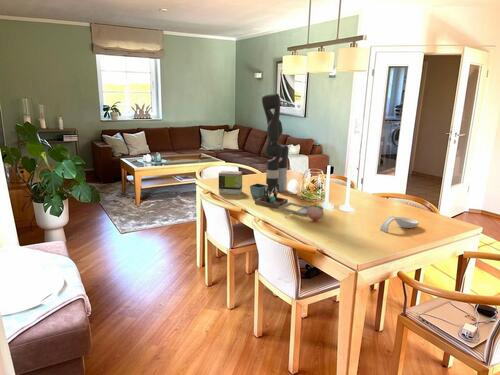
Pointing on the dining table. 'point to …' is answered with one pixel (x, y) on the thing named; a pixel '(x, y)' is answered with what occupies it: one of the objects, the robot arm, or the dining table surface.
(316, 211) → the decorative fruit
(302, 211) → the tray
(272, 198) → the ball
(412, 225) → the spoon rest
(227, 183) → the retro computer monitor
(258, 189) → the flower pot
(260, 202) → the walnut box
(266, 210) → the dining table surface
